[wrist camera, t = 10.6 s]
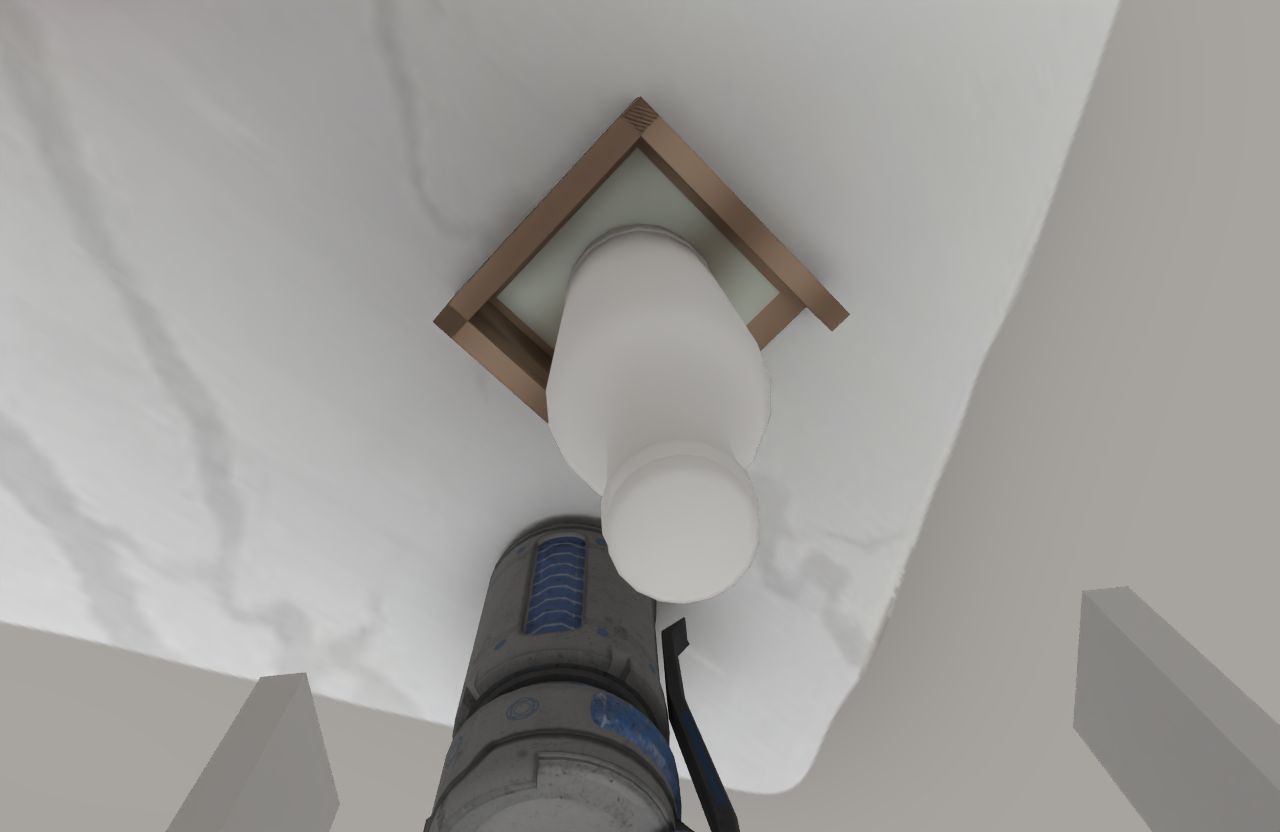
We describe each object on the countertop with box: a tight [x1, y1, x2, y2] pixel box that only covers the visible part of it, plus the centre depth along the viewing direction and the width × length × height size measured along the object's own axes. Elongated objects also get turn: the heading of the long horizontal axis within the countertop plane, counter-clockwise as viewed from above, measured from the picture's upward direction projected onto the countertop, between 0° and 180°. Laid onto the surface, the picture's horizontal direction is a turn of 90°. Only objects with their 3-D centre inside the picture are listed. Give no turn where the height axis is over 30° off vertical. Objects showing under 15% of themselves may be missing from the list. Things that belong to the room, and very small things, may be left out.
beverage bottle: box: [423, 523, 740, 832], centre depth 44 cm, size 10×13×25 cm
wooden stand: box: [433, 96, 850, 424], centre depth 47 cm, size 14×14×7 cm
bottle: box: [546, 223, 771, 604], centre depth 35 cm, size 8×8×30 cm
